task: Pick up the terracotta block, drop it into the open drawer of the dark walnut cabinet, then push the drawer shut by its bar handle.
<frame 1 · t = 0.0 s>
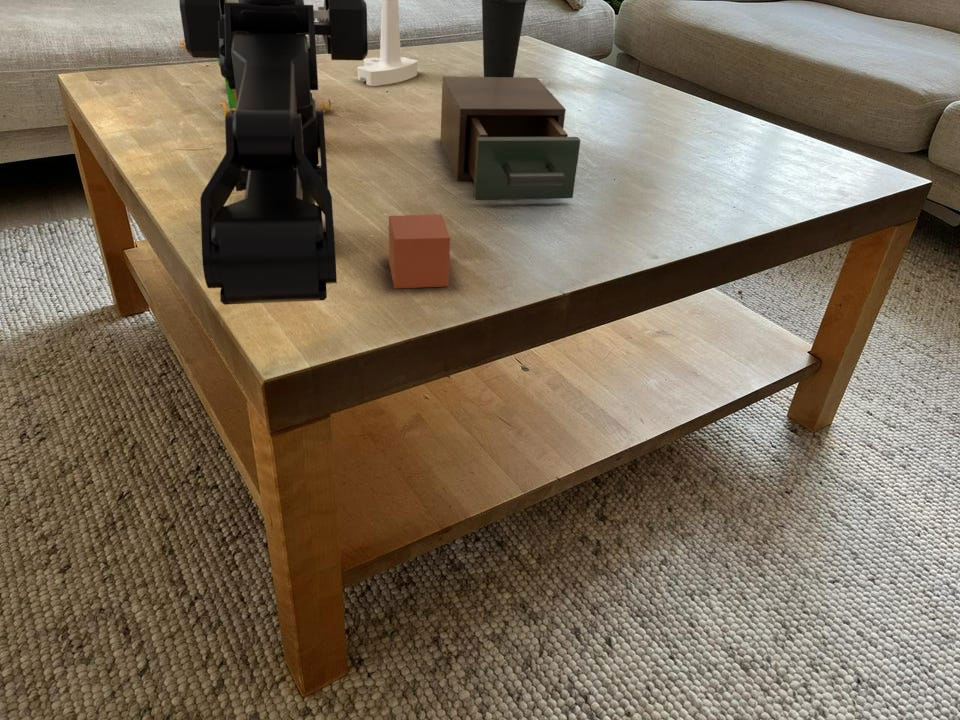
hand: (278, 10, 87), 17 cm above the table, tool horizontal, fingers open, 9 cm apart
white post stand: (383, 77, 128), on the table
block: (418, 274, 72), on the table
drawer: (518, 157, 88), point 4 cm above the table, slide at 7.0 cm
gift wrap: (254, 117, 107), on the table
drinking cup: (497, 84, 129), on the table
cabinet: (496, 159, 99), on the table
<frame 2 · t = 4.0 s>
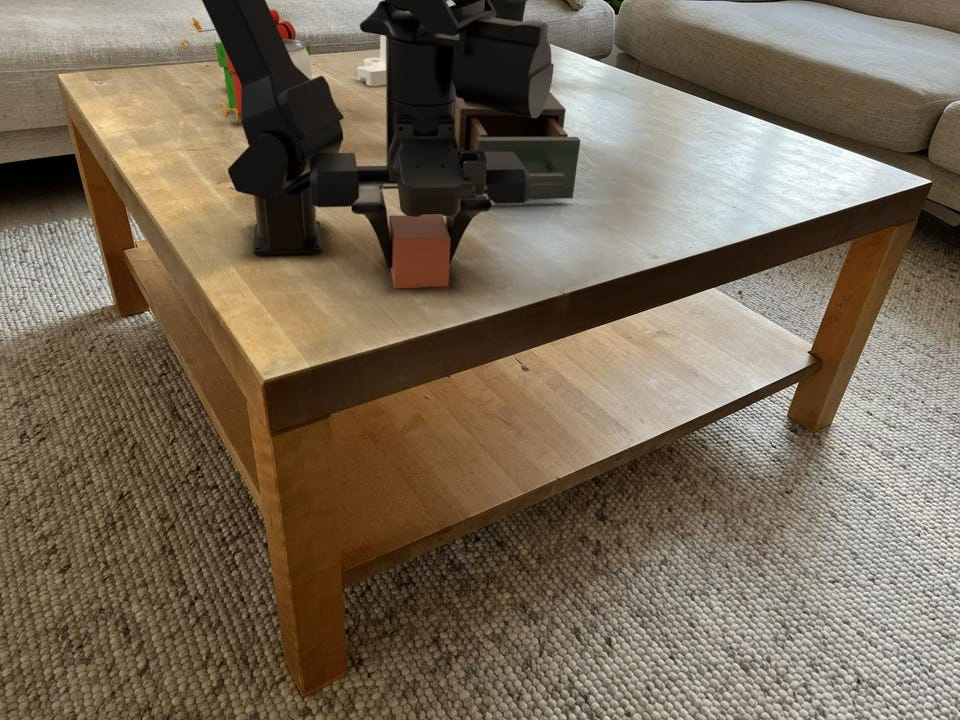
hand: (418, 265, 72), 1 cm above the table, tool pointing down, fingers closed on block, 5 cm apart
block: (418, 274, 72), on the table, touching gripper
everything else where it was.
when the fingers open (10 cm above the table, at t = 7.8 s): block drops 4 cm and tips over, resting on drawer.
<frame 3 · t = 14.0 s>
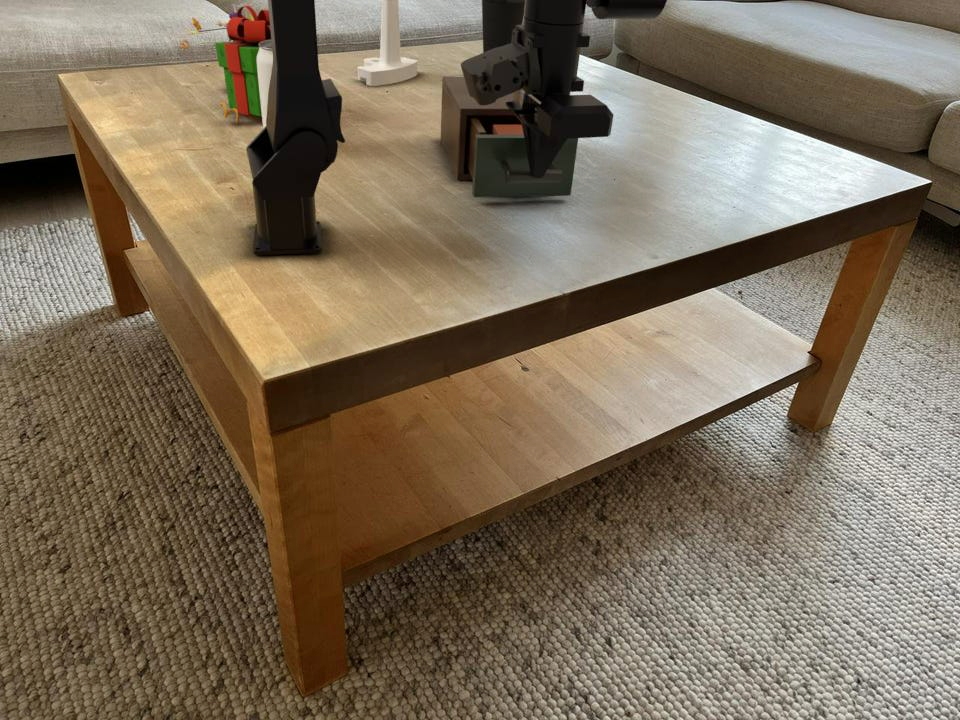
hand: (536, 177, 81), 5 cm above the table, tool pointing down, fingers closed
block: (512, 145, 90), point 4 cm above the table, tilted 90°, touching drawer
drawer: (517, 154, 88), point 4 cm above the table, slide at 6.2 cm, touching block, gripper
everything else where it was.
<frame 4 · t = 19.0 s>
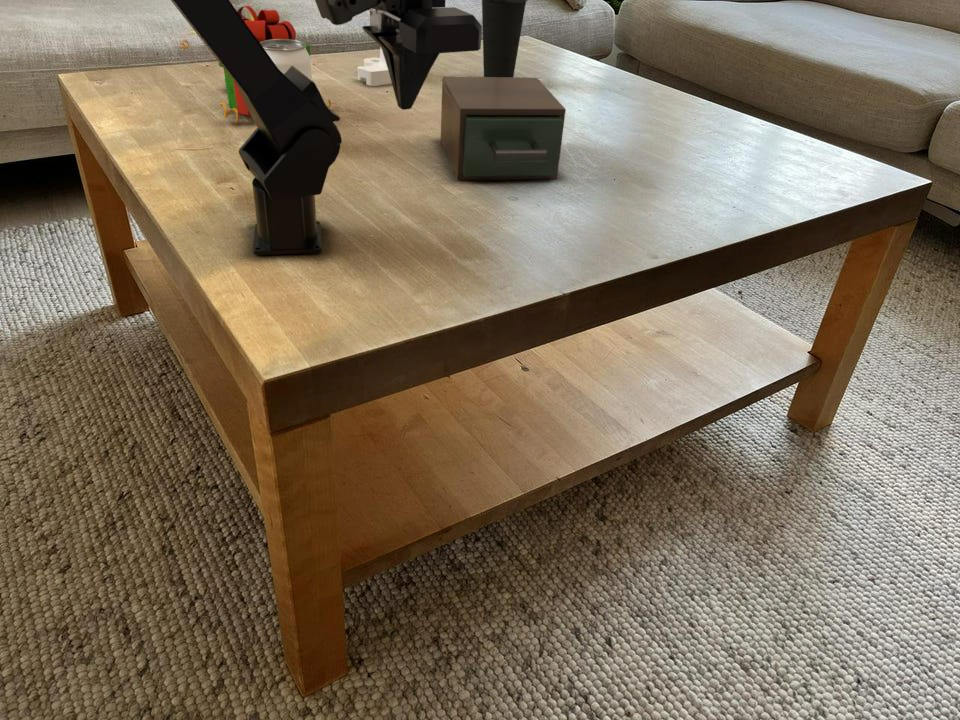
hand: (404, 108, 75), 12 cm above the table, tool pointing down, fingers closed
block: (500, 128, 95), point 4 cm above the table, tilted 90°, touching drawer
drawer: (505, 136, 93), point 4 cm above the table, slide at 0.0 cm, touching block, cabinet
everything else where it was.
at the end: block inside the target area in the cabinet (1.3 cm from its centre), point 4.5 cm above the cabinet's base; drawer slide at 0.0 cm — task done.
